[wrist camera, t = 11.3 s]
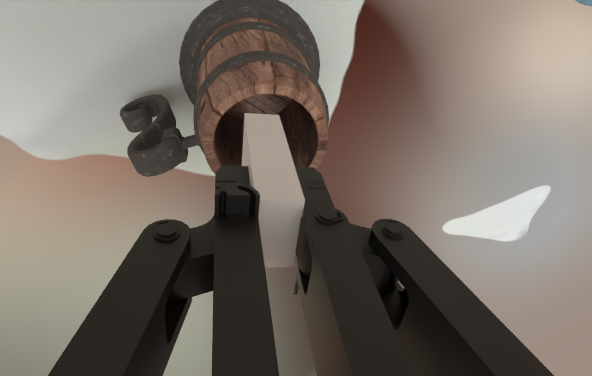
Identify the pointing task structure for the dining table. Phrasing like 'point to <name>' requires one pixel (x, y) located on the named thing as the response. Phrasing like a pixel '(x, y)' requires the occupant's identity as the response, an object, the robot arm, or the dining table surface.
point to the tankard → (236, 88)
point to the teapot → (585, 2)
